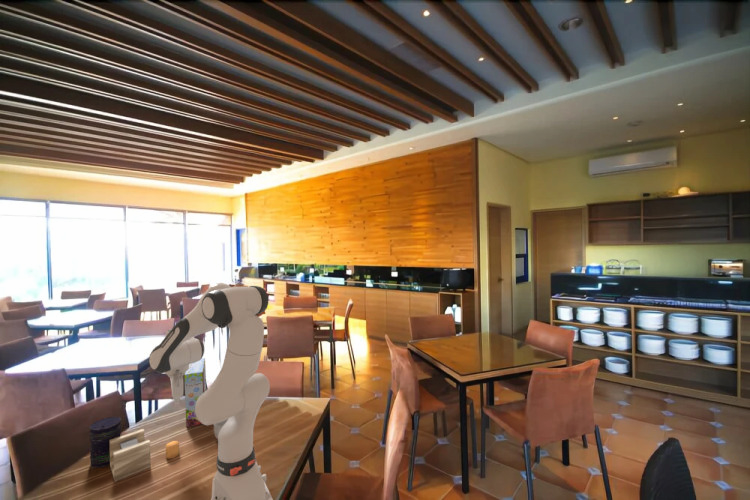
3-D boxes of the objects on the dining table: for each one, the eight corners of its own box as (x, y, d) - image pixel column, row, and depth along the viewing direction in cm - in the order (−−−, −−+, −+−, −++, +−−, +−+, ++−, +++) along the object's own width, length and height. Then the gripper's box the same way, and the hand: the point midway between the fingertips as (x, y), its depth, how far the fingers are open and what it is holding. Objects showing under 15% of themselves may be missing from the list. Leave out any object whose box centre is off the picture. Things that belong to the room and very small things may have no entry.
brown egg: (180, 454, 134) (180, 444, 134) (167, 460, 131) (167, 449, 130) (177, 450, 137) (177, 439, 137) (164, 455, 134) (164, 444, 134)
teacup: (229, 445, 140) (229, 426, 140) (207, 442, 142) (207, 424, 142) (248, 427, 154) (248, 410, 154) (228, 425, 156) (228, 408, 156)
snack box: (188, 407, 173) (188, 359, 173) (207, 404, 177) (206, 357, 176) (184, 428, 153) (183, 374, 153) (205, 424, 157) (204, 371, 157)
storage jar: (96, 455, 134) (96, 419, 134) (125, 449, 137) (125, 414, 137) (85, 470, 125) (84, 432, 124) (116, 464, 128) (115, 426, 128)
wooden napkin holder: (150, 467, 126) (150, 441, 126) (114, 481, 119) (114, 454, 118) (143, 452, 136) (143, 428, 135) (109, 465, 128) (109, 439, 128)
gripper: (187, 374, 127) (187, 408, 128) (183, 356, 144) (183, 387, 145) (168, 377, 124) (168, 413, 124) (166, 359, 140) (166, 390, 141)
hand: (176, 399), depth 135 cm, fingers open, 8 cm apart
